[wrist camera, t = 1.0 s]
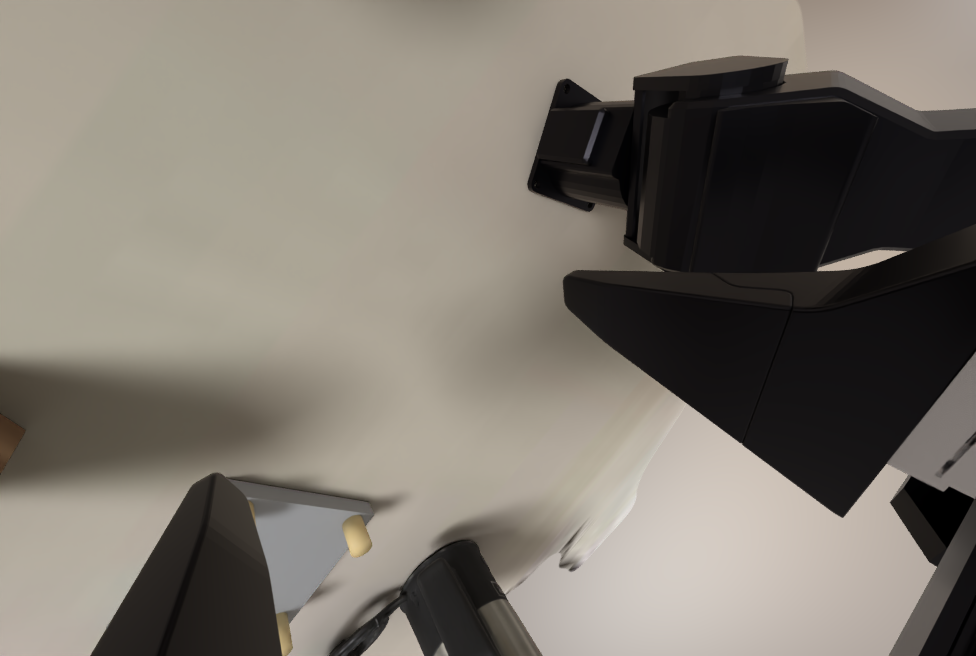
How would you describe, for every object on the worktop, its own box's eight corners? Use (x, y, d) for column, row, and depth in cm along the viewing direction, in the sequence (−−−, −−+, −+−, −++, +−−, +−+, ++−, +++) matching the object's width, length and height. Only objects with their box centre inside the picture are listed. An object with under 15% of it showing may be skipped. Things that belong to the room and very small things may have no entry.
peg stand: (223, 478, 21) (226, 527, 18) (369, 502, 28) (384, 539, 25) (106, 626, 20) (93, 696, 18) (283, 612, 28) (290, 660, 25)
